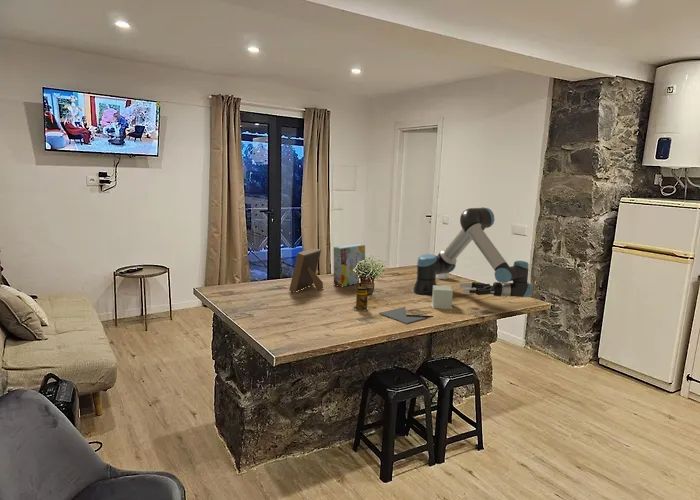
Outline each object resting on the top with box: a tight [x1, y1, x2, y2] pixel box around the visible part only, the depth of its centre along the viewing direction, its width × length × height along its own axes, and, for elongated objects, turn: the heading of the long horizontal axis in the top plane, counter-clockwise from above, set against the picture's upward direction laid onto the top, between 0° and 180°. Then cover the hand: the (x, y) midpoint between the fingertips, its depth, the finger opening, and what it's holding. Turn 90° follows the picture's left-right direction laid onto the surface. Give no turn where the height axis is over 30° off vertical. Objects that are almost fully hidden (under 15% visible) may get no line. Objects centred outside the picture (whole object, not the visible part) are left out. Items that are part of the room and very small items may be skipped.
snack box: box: [333, 243, 366, 288], centre depth 305 cm, size 22×9×26 cm, turn 133°
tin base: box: [430, 301, 454, 310], centre depth 257 cm, size 11×11×6 cm
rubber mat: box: [378, 306, 434, 325], centre depth 242 cm, size 20×20×1 cm
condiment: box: [350, 286, 370, 312], centre depth 252 cm, size 7×8×12 cm
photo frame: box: [288, 247, 324, 293], centre depth 287 cm, size 15×22×25 cm
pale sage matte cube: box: [431, 284, 454, 310], centre depth 256 cm, size 10×10×10 cm
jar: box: [436, 272, 450, 280], centre depth 329 cm, size 9×8×12 cm
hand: (461, 287), depth 254 cm, fingers open, 13 cm apart
